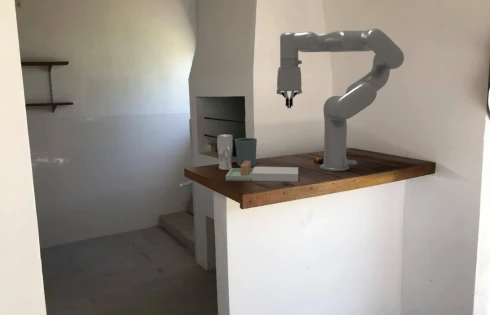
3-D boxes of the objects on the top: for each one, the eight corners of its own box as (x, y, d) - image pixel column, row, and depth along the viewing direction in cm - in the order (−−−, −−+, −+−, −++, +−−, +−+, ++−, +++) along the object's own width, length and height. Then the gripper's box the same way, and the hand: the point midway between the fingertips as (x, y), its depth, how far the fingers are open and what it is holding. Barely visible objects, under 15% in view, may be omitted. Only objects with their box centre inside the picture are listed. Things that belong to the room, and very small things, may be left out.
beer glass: (221, 170, 183) (221, 136, 180) (215, 168, 189) (214, 134, 186) (236, 169, 186) (235, 135, 183) (229, 166, 192) (228, 133, 189)
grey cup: (259, 166, 192) (259, 140, 190) (237, 167, 190) (237, 141, 188) (254, 162, 202) (253, 137, 200) (233, 163, 200) (233, 138, 198)
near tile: (248, 163, 169) (242, 163, 169) (246, 165, 164) (240, 165, 164) (248, 175, 170) (242, 175, 170) (247, 178, 165) (240, 178, 165)
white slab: (298, 174, 174) (298, 167, 173) (298, 181, 161) (298, 174, 161) (254, 173, 176) (254, 166, 176) (251, 180, 163) (251, 173, 163)
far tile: (250, 160, 175) (244, 160, 175) (249, 163, 170) (242, 163, 170) (250, 172, 176) (244, 172, 176) (249, 175, 171) (243, 175, 171)
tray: (254, 173, 177) (254, 168, 177) (250, 181, 163) (250, 176, 162) (231, 172, 178) (231, 168, 178) (225, 180, 164) (225, 175, 163)
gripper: (307, 63, 178) (306, 107, 181) (271, 64, 179) (272, 107, 183) (307, 62, 170) (307, 108, 173) (270, 63, 172) (271, 108, 175)
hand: (289, 107), depth 178 cm, fingers closed
